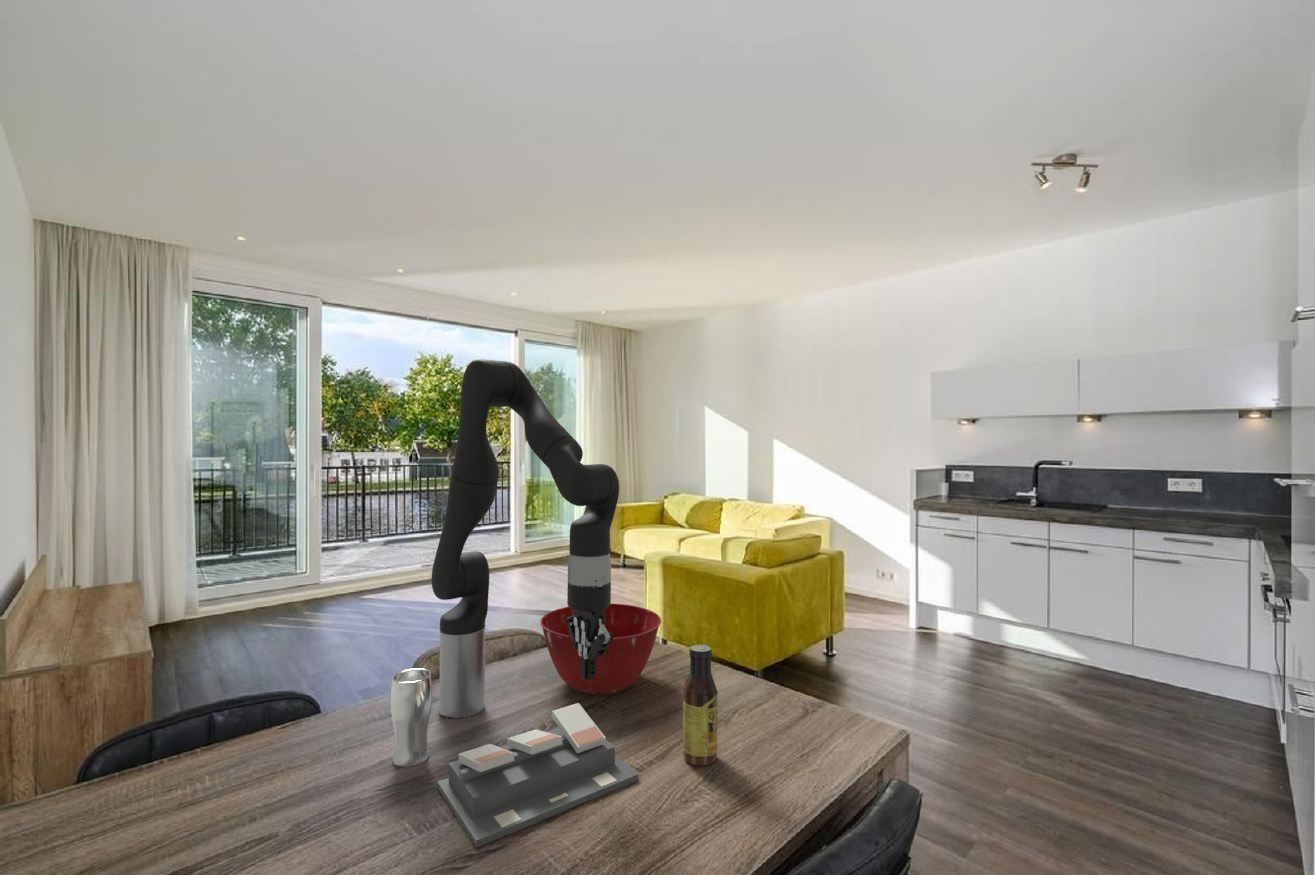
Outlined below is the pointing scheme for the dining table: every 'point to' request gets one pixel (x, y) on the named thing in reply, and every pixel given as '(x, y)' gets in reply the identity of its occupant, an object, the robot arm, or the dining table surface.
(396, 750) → the beer glass
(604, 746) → the switch box
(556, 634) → the mixing bowl
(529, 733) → the switch
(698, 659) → the sauce bottle
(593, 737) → the switch
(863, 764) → the dining table surface
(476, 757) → the switch
